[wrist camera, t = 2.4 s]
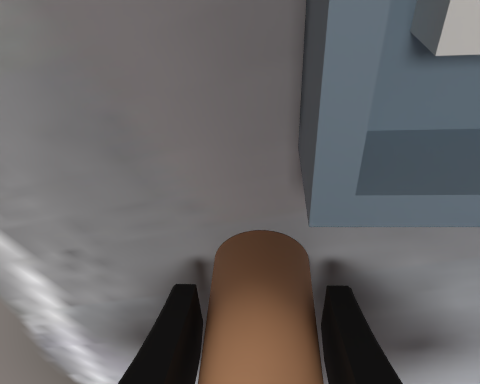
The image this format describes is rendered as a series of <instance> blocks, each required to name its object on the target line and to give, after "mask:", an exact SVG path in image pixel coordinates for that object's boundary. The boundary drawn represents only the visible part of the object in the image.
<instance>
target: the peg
mask: <svg viewBox="0 0 480 384" xmlns="http://www.w3.org/2000/svg"><path fill="white" fill-rule="evenodd" d="M198 384H323V375H322V367H321V359H320V350H319V342H318V334H317V325H316V317H315V309H314V300H313V292H312V284H311V275H310V267H309V259H308V255H307V253H306V251H305V249H304V248H303V247H302V246H301V245H300V244H299V243H298V242H297V241H296V240H294V239H292V238H291V237H289V236H286V235H284V234H281V233H277V232H273V231H261V230H258V231H249V232H244V233H241V234H238V235H235V236H233V237H231V238H229V239H228V240H227V241H225V242H224V243H223V244H222V245H221V246H220V247H219V249H218V251H217V252H216V255H215V261H214V268H213V276H212V283H211V291H210V298H209V306H208V313H207V321H206V328H205V335H204V343H203V350H202V358H201V365H200V373H199V380H198Z"/></svg>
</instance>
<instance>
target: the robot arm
mask: <svg viewBox="0 0 480 384" xmlns="http://www.w3.org/2000/svg"><path fill="white" fill-rule="evenodd" d="M321 330H322V341H323V352H324V361H325V367H326V372H327V377H328V382H329V384H403V383H402V382H401V380H400V379H399V377H398V376H397V374H396V372H395V371H394V369H393V367H392V366H391V364H390V362H389V361H388V359H387V357H386V356H385V354H384V352H383V350H382V349H381V347H380V345H379V344H378V342H377V340H376V338H375V336H374V335H373V333H372V331H371V329H370V327H369V325H368V323H367V321H366V319H365V318H364V316H363V313H362V311H361V309H360V307H359V305H358V303H357V301H356V299H355V296H354V294H353V292H352V289H351V288H350V287H349V286H327V289H326V296H325V302H324V309H323V315H322V322H321ZM202 332H203V319H202V314H201V309H200V303H199V298H198V293H197V288H196V284H176V285H174V286H173V288H172V290H171V292H170V294H169V297H168V299H167V301H166V303H165V305H164V307H163V309H162V311H161V313H160V315H159V316H158V318H157V320H156V322H155V324H154V326H153V328H152V329H151V331H150V333H149V335H148V336H147V338H146V340H145V341H144V343H143V345H142V347H141V348H140V350H139V352H138V353H137V355H136V357H135V358H134V360H133V361H132V363H131V364H130V366H129V367H128V369H127V371H126V372H125V374H124V375H123V377H122V378H121V380H120V381H119V383H118V384H195V381H196V376H197V371H198V365H199V360H200V353H201V343H202Z"/></svg>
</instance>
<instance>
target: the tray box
mask: <svg viewBox="0 0 480 384" xmlns="http://www.w3.org/2000/svg"><path fill="white" fill-rule="evenodd" d="M298 149H299V156H300V164H301V171H302V179H303V186H304V194H305V201H306V209H307V216H308V224H309V227H480V0H306V18H305V36H304V54H303V72H302V90H301V108H300V126H299V144H298Z"/></svg>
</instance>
